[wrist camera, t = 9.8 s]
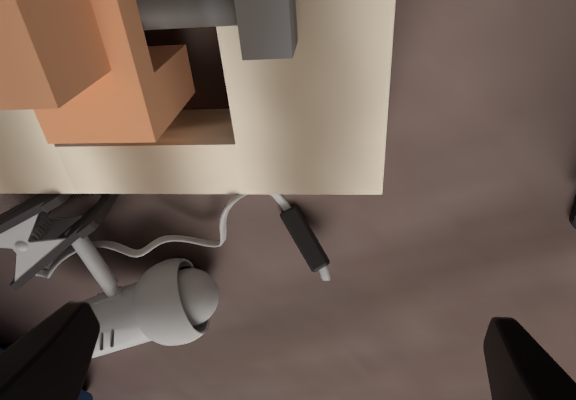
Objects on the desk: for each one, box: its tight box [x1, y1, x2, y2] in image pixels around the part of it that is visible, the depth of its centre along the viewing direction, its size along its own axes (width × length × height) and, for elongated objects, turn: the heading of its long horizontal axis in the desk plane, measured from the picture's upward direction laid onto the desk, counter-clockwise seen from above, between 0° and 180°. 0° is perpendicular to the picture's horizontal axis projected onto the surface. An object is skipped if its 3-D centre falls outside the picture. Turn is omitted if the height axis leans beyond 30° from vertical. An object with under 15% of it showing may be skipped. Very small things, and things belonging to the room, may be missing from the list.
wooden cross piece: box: [0, 0, 195, 144], centre depth 13 cm, size 4×8×8 cm, turn 4°
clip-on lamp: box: [0, 194, 331, 358], centre depth 24 cm, size 12×6×18 cm
